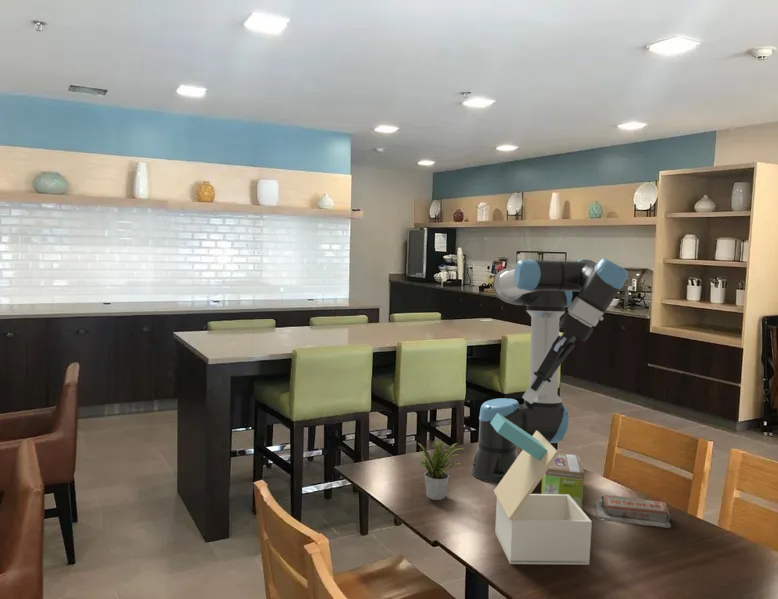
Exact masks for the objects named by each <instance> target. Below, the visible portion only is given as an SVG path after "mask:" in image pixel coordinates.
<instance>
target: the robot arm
mask: <svg viewBox="0 0 778 599" xmlns="http://www.w3.org/2000/svg"><path fill="white" fill-rule="evenodd" d="M628 277H629V272H628V270H626V269H625V268H624V267H621V266H620V265H618V264H617V263H615V262H613V261H611V260H609V259H607V258H601V259H600V260H599V262H595V261H593V260H591V259H585V258H583V259H578V260H575V261H572V260H570V261H569V260H539V259H536V260H535V259H522V260H521V259H520V260H518V261H517V262H516V264H515V266H514V267H509V268H504V269H501V270H500V271H498V272H497V273H496V274H495V276H494V278H493V279H492V290H493V292H494V293H493V294H495V296H497V298H498V299H500V300H501V301H503V302H505V303H507V304H510V305H515V306H526V312H527V313H528V315H529V316H530V318H531V322H530V323H531V324H530V325H531V326H530V350H529V353H530V355H529V358H530V359H529V383H528V385H529V386H528V388H526V391H525V392H524V394H523V395H522V397H521V399H523V404H520V403H519V401H518V400H516V399H514V398H502V397H501V398H493V399H489V400H486V401H484V402H483V403H482V404H481V406H480V409H479V410H480V411H479V416H478V420H479V422H478V424H479V427H478V448H477V451H476V454H475V456H474V459H473V461H472V465H471V474H472V476H473V477H475V478H477V479H479V480H482V481H484V482H491V483H498V484H499V483H500V481H501V480H502V478H503V477H504V476H505V474H506V473H507V471H508V470H509V469H510V467H511V466H512V464H513V463H514V461H515V460H516V459H517V457H518V454H517V445H515V444H514V443H512V442H511V441H509V440H508V439H506V438H505V437H503V436H502V435H500V434H499V433H497V431H496V430H495V429H494V427H493V426H492V425H491V423H490V422H491V421H492V420H493V418H494V417H495V415H496V414H497V413H499V414H500V415H502V416H503V417H504V418H506V419H507V420H509V421H510V422H512V423H513V424H515V425H516V426H518V427H519V428H521V429H522V430H524V431H525V432H527V433H528V434H530V435H531V436H533V434H534V433H535V432H536V430H537V431H538V432H539V433H540V434H541V435H542V436H543V437H544V438H545V439H546V440H547V441H548V442H549V443H550V444H557V443H560V442H562V441H563V440H564V438H565V437H566V435H567V432H568V428H569V422H570V420H569V419H570V418H569V411H568V408H567V406H565V405H564V404H563V399H562V398H561V397H560V396H559V395H558V388H559V387H558V386H559V385H558V384H559V383H558V382H559V381H558V380H559V367H560V366H561V364H562V363H563V362H564V360H565V359H566V358H567V356H568V355H569V354H570V353H571V351H572V350H574V347H575V345H576V344H575V342H576V340H577V339H578V340H579V341H582V342H586V341H587V340H588V339H589V337H590V335H591V334H592V333H593V331H594V328H592V327H596V326H597V325H598V323H599V321H601V322H602V321H603V320H604V316H603V315H604V314H605V312H606V311H607V309H608V308H609V307H610V305H611V304H612V303H613V301H614V299H615V298H616V297H617V295H618V293H619V292H620V291H621V289H623V287H624V284H625V282H626V281H627V279H628ZM573 292H578V293H577V295H576V296H575V298H574V299H573ZM566 308H567V311H568V312H566ZM560 328H561V329H562V330H564V332H563V333H561V335H560Z"/></svg>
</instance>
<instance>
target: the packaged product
mask: <svg viewBox="0 0 778 599" xmlns="http://www.w3.org/2000/svg"><path fill="white" fill-rule="evenodd" d="M595 508H596V515H597V519H598V518H599V519H598V520H601V519H604V520H603V521H611V520H612V521H614V522H618V521H619V522H620V523H625V522H626V523H627V524H632V525H633V524H636V525H641V526H650V527H658V528H659V527H660V528H668V529H671V527H672V525H671V523H670V520H671V519H670V518H671V517H670V511H669V509H668V507H667V503H666V502H664V501H659V500H651V499H645V498H634V497H628V496H627V497H626V496H620V495H619V496H617V495H609V494H603V495H601V501H598V500H597V501H596V502H595Z"/></svg>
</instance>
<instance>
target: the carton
mask: <svg viewBox="0 0 778 599" xmlns="http://www.w3.org/2000/svg"><path fill="white" fill-rule="evenodd" d="M592 522H593V521H592V520H591V519H590V517H589V516H588V515H587V514H586V513H585V512H584V511H583V508H582V509H581V508H580V507H579V506H578V505H577V504H576V502H575V501H574V500H573V499H572V498H571V496H570V495H569V494H541V493H531V494H530V496H529V497H528V499H527V500H526V501H525V503H524V504H523V506H522V507H521V508H520V510H519V511H518V513H517V514H516V515H515V517H514V518H513V520H510V519H509V518H508V516H507V514H506V512H505V511H504V509H503V507H502V505H501V503H500V502H499V500H498V498H497V497H496V510H495V530H494V532H495V535H496V537H497V540H498V541H499V544H500V545H501V548H502V549H503V552H504V554H505V556H506V558H507V560H508V562H509V564H510V565H582V566H583V565H590V558H591V556H590V555H591V540H592Z"/></svg>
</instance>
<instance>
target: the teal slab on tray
mask: <svg viewBox="0 0 778 599" xmlns="http://www.w3.org/2000/svg"><path fill="white" fill-rule="evenodd" d="M490 423H491V425H492V426H493V427H494V429H495V430H496V431H497V433H499V434H500V435H502V436H503V437H505V438H506V439H508V440H509V441H511V442H512V443H514V444H515V445H516V447H518V448H519V449H521V450H522V451H520V453H519V454H518V455H517V459H516V460H515V461H514V463H513V464H512V466H511V467H510V469H509V470H508V471H507V473H506V474H505V476H504V477H503V478H502V480H501V481H500V483H498V484H497V485H496V487H495V488H494V490H493V492H494V494H495V496H496V499H497V498H498V500H499V502H500V503H501V505H502V507H503V509H504V511H505V512H506V514H507V516H508V518H509V519H510V520H513V518H514V517H515V515H516V514H517V513H518V511H519V510H520V508H521V507H522V506H523V504H524V503H525V501H526V500H527V499H528V497H529V496H530V494H533V491H535V489H536V487H537V486H538V484H539V483H540V481H542V477H543V476H544V475H545V473H546V472H547V470H548V469H549V467H550V466H551V465H552V463H553V462H554V460H555V459H556V458H557V456H558V455H559V454H560V452H559V451H558V449H556V448H555V447H554V446H553V444H552V443H549V442H548V441H547V440H546V439H545V438H544V437H543V436H542V435H541V434H540V433H539V432H538V431H537V430H536V432H535V433H534V434H533V436H531V435H530V434H528V433H527V432H525V431H524V430H522V429H521V428H519V427H518V426H516V425H515V424H513V423H512V422H510V421H509V420H507V419H506V418H504V417H503V416H502V415H500V414H499V413H497V414H496V415H495V417H494V418H493V420H492V421H491V422H490Z"/></svg>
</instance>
